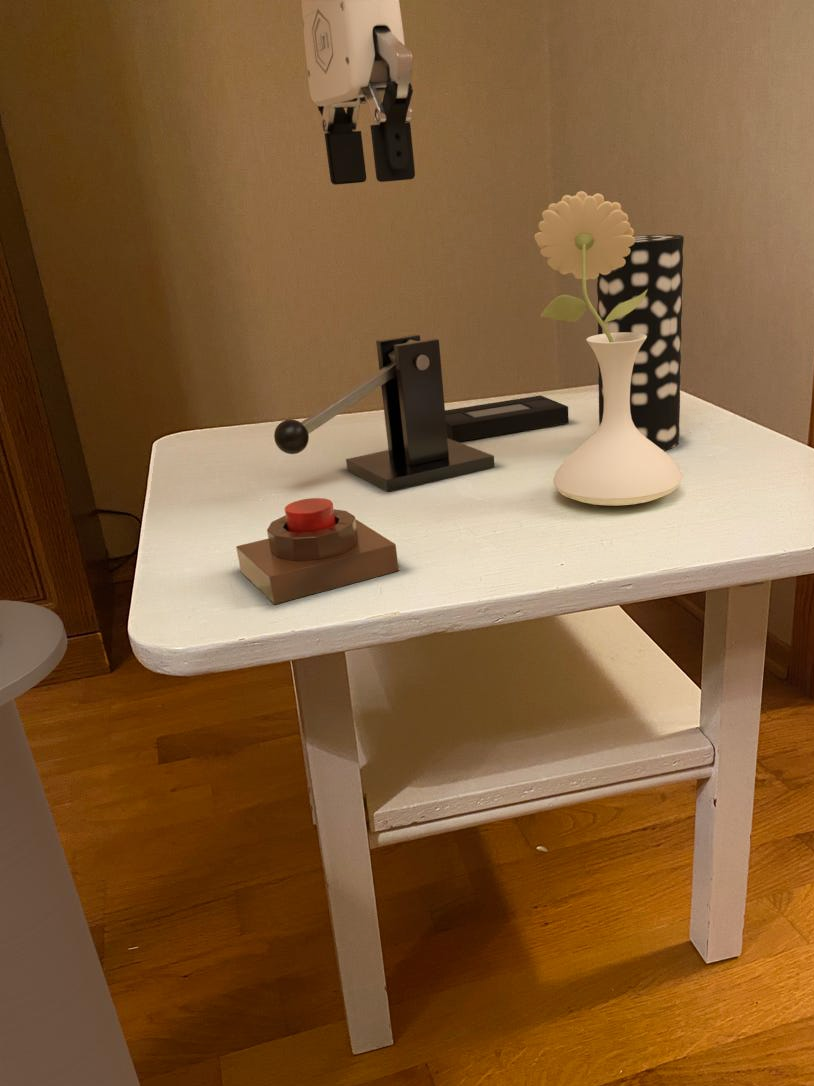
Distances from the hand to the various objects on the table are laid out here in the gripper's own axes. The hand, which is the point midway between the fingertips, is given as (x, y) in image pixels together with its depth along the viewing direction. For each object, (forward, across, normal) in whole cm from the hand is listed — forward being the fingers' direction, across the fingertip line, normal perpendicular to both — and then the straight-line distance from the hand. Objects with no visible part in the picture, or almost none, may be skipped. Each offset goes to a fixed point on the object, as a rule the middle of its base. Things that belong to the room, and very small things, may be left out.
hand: (371, 181), depth 80 cm
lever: (+20, -5, -2) cm, 21 cm away
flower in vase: (+27, +15, +13) cm, 34 cm away
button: (+23, +15, -15) cm, 31 cm away
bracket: (+27, -5, +4) cm, 28 cm away
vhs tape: (+27, -14, +19) cm, 36 cm away
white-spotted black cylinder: (+27, +2, +26) cm, 38 cm away
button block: (+27, +15, -15) cm, 34 cm away
